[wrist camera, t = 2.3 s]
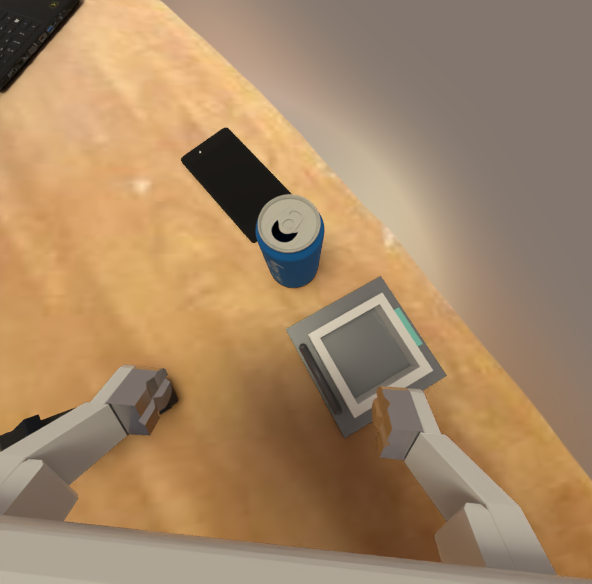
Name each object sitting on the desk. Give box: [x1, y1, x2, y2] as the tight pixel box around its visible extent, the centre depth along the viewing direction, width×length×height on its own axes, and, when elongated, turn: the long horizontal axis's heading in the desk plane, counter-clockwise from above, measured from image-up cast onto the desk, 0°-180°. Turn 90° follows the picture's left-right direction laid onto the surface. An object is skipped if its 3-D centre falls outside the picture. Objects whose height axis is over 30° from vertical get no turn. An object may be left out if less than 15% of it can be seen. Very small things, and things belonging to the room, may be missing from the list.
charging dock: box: [286, 276, 447, 438], centre depth 30 cm, size 14×14×3 cm
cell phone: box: [181, 128, 291, 243], centre depth 37 cm, size 9×18×1 cm, turn 40°
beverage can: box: [256, 194, 324, 288], centre depth 28 cm, size 6×6×12 cm
